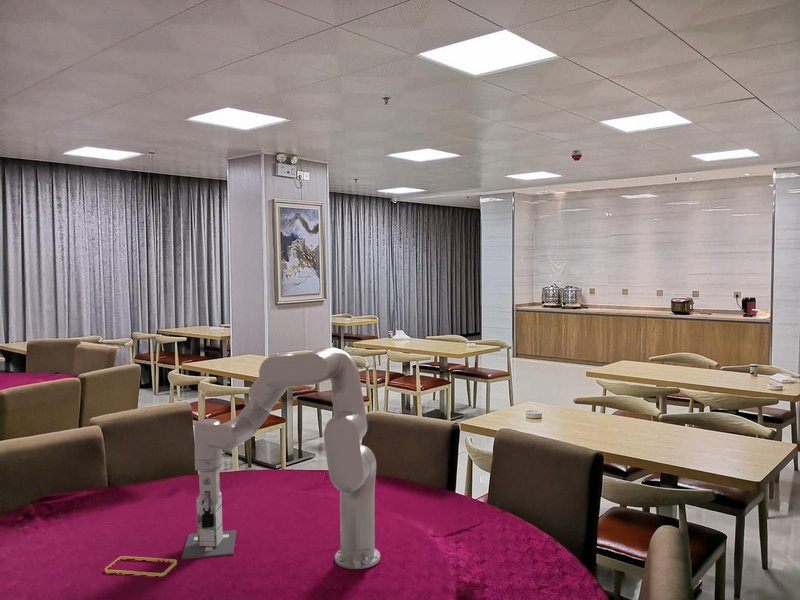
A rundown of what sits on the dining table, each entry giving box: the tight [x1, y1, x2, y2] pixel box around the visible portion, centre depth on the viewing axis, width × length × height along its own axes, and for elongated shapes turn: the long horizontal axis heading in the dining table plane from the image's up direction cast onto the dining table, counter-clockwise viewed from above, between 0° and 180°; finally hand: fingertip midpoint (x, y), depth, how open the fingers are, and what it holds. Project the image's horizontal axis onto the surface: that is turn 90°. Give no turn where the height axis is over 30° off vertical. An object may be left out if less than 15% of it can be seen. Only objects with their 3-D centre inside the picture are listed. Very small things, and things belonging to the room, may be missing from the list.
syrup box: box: [196, 491, 224, 547], centre depth 184 cm, size 6×6×14 cm
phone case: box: [104, 555, 178, 578], centre depth 171 cm, size 8×17×1 cm, turn 82°
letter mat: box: [180, 529, 237, 560], centre depth 184 cm, size 16×14×1 cm
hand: (209, 520), depth 184 cm, fingers open, 9 cm apart
